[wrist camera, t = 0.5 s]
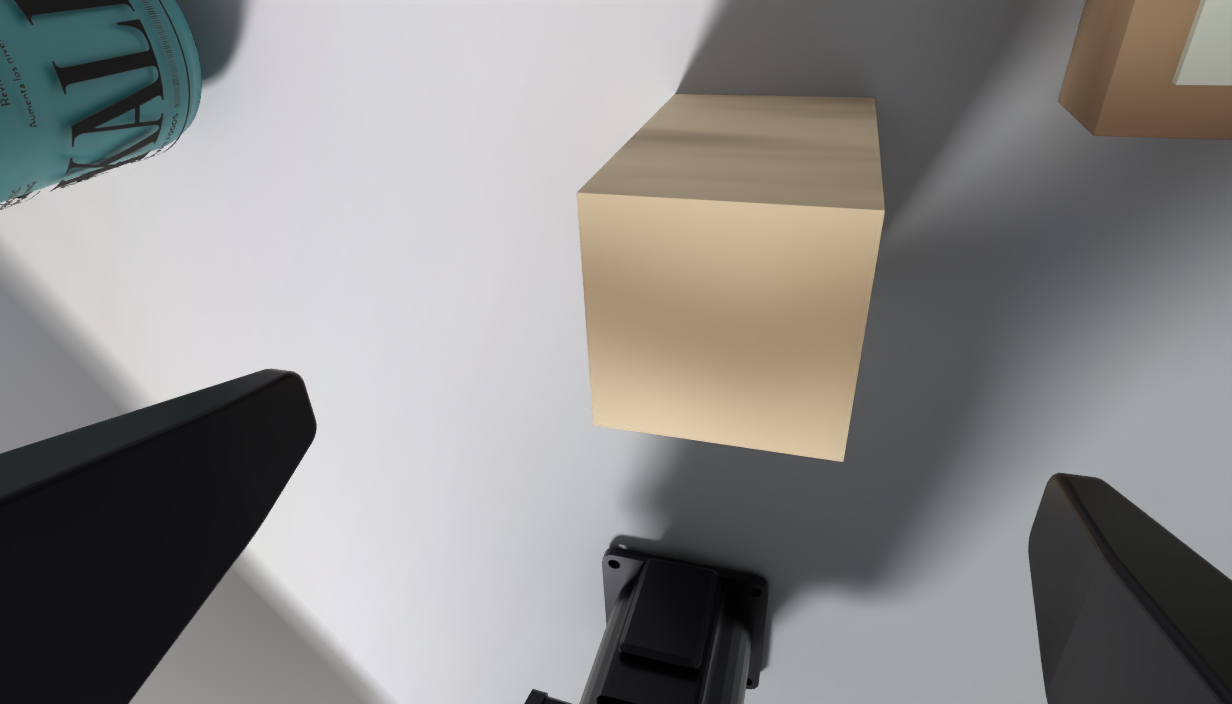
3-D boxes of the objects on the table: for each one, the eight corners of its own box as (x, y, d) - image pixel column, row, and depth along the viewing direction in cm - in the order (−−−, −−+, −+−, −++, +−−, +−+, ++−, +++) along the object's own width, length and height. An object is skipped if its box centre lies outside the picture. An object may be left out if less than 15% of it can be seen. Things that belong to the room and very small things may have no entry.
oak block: (847, 281, 20) (843, 462, 13) (674, 267, 21) (593, 425, 15) (874, 97, 17) (885, 210, 11) (675, 93, 19) (576, 193, 12)
